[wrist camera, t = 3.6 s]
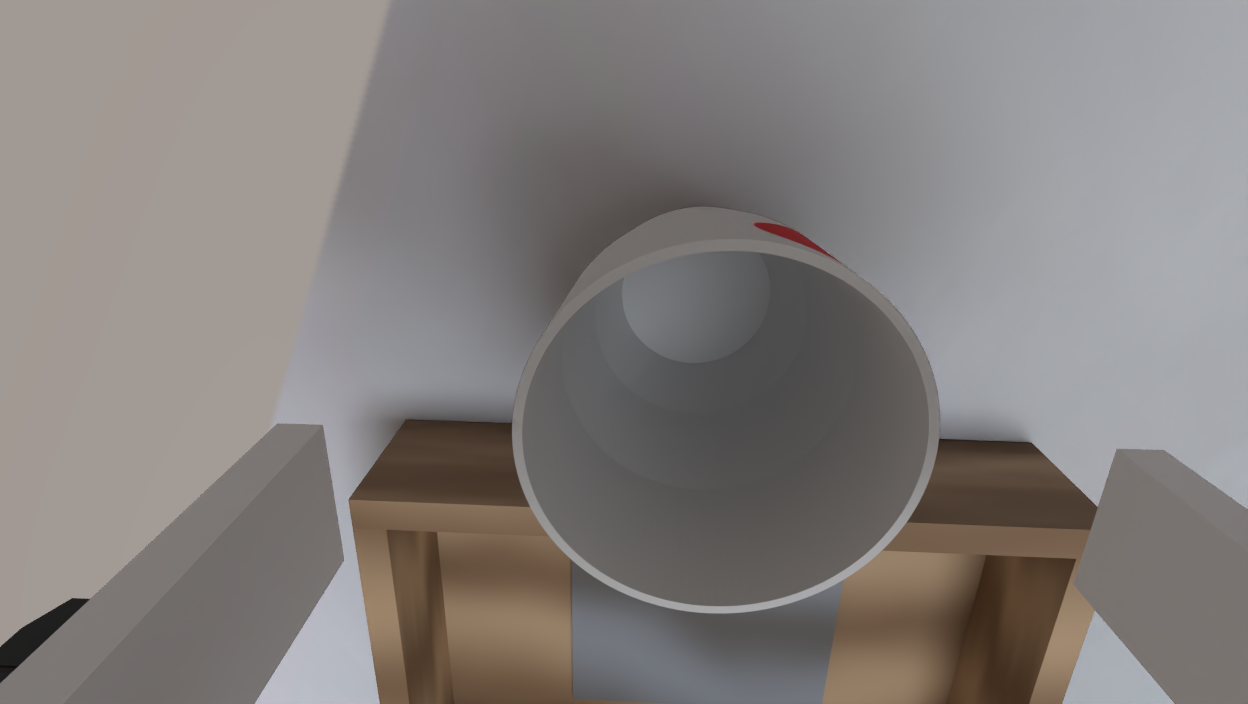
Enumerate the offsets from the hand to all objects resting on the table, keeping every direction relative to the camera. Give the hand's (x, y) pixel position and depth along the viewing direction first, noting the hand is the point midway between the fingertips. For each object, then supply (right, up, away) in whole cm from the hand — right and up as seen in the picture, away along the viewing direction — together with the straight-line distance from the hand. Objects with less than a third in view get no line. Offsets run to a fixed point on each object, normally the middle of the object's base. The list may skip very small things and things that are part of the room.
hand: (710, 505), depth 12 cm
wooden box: (+2, -7, +15) cm, 17 cm away
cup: (+1, +5, +11) cm, 12 cm away
